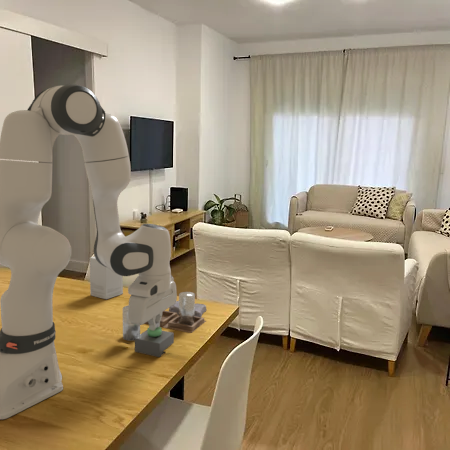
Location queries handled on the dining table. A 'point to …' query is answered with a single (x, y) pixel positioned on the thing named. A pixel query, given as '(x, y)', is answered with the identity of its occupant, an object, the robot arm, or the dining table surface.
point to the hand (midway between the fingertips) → (154, 328)
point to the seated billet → (186, 308)
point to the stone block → (198, 309)
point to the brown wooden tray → (172, 322)
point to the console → (153, 343)
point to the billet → (129, 326)
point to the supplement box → (104, 281)
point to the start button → (154, 332)
